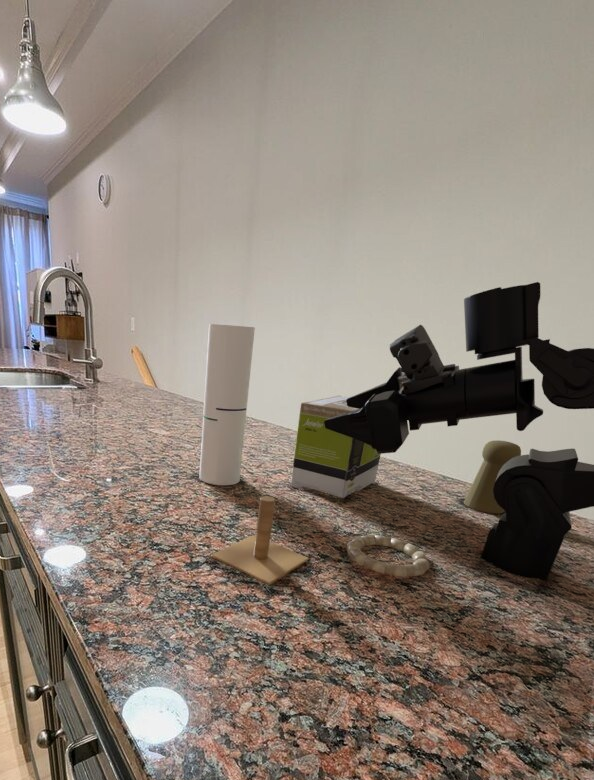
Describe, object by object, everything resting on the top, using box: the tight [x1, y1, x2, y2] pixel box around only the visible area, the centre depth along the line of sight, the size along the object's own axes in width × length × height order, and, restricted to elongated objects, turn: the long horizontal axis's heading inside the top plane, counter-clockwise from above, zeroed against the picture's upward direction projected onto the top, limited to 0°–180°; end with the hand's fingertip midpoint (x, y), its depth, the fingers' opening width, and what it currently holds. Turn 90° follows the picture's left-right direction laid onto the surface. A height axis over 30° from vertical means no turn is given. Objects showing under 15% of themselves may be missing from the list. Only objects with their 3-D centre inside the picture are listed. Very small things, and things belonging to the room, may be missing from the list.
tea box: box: [290, 395, 382, 499], centre depth 77 cm, size 15×10×15 cm
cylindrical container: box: [198, 323, 256, 486], centre depth 74 cm, size 7×7×25 cm
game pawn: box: [463, 440, 522, 514], centre depth 73 cm, size 6×6×11 cm
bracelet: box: [346, 534, 431, 578], centre depth 53 cm, size 9×9×2 cm
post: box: [210, 495, 310, 586], centre depth 49 cm, size 8×8×8 cm
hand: (336, 412), depth 61 cm, fingers open, 9 cm apart
